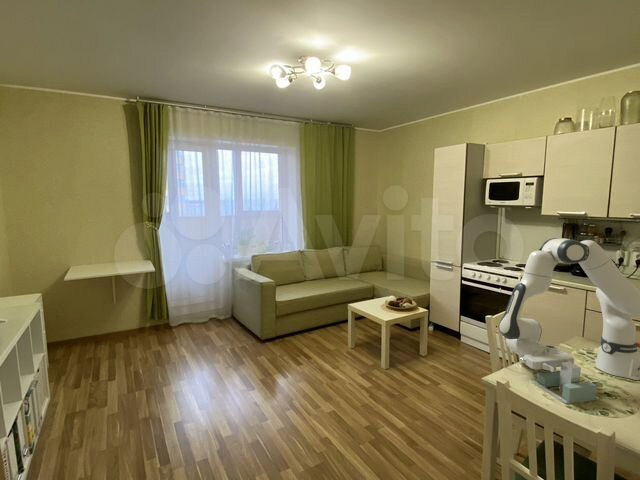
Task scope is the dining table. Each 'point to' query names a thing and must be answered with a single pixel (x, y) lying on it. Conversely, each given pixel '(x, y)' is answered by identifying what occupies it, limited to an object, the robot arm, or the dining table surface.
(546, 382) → the block
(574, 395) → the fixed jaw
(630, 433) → the dining table surface
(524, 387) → the dining table surface
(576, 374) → the steel block
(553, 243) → the robot arm
